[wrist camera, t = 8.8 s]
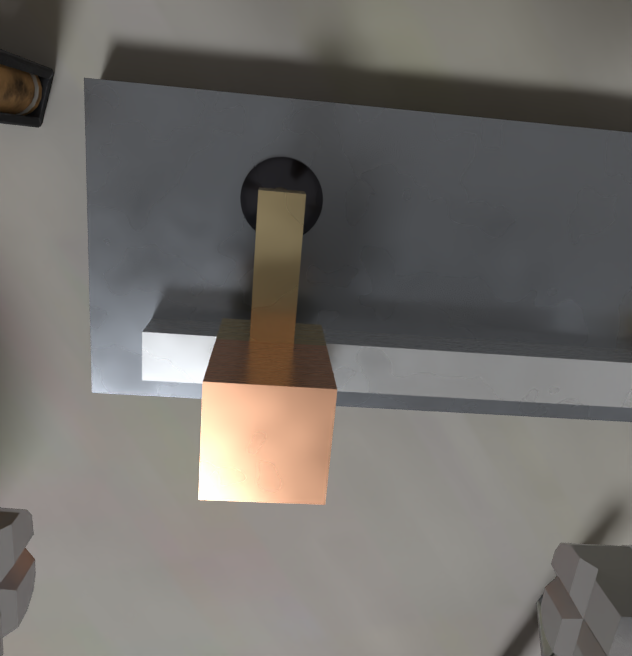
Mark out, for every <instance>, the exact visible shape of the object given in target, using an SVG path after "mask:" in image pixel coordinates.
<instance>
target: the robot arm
mask: <svg viewBox="0 0 632 656" xmlns="http://www.w3.org/2000/svg"><path fill="white" fill-rule="evenodd" d="M33 535H34V531H33V520H32V515H31V514H30V512H29V511H28V510H25V509H13V508H1V507H0V656H2V655H3V637H4V636H6V635H7V634H9V633H10V632H12V631H13V630H15V629H16V628H18V627H19V625H20V623H21V621H22V619H23V617H24V615H25V614H26V612H27V609H28V606H29V603H30V600H31V597H32V593H33V590H34V582H35V574H36V572H35V559H34V558H33V556H32V555H31V554H30V553H29V552H28V550H27V549H26V548H25V547H26V545H27V544H28V542H29V541H30V539H31V538H32V536H33ZM551 565H552V567H553V569H554V571H555V573H556V574H557V577H556V578H555V579H554V580H553V581H551V582H550V583H549V584H548V585H547V586H546V587H545V589H544V593H543V598H542V603H541V616H542V626H543V629H544V633H545V636H546V639H547V641H548V643H549V645H550V647H551V649H552V651H553V653H554V654H556V655H557V656H632V545H622V546H612V545H593V544H574V543H560V544H559V546H558V547H557V549H556V550H555V552H554V556H553V559H552V563H551Z"/></svg>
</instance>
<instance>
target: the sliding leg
mask: <svg viewBox="0 0 632 656" xmlns="http://www.w3.org/2000/svg"><path fill="white" fill-rule="evenodd" d="M305 201H306V193H305V192H304V191H295V190H287V189H285V188H282V187H278V188H275V189H272V188H260V187H259V190H258V205H257V222H256V240H255V257H254V274H253V291H252V308H251V320H244V319H229V318H222V322H221V325H220V328H219V331H218V334H217V337H216V341H215V344H214V347H213V350H212V353H211V357H210V360H209V363H208V366H207V369H206V372H205V376H204V379H203V384H202V413H201V442H200V471H199V500H218V501H243V502H268V503H294V504H319V505H325V501H326V491H327V482H328V473H329V463H330V454H331V445H332V435H333V426H334V417H335V407H336V398H337V386H336V382H335V378H334V374H333V370H332V366H331V362H330V358H329V354H328V350H327V346H326V342H325V338H324V334H323V330H322V326H321V325H319V324H304V323H296V311H297V299H298V286H299V274H300V262H301V250H302V237H303V225H304V213H305Z"/></svg>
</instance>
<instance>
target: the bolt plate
mask: <svg viewBox="0 0 632 656" xmlns="http://www.w3.org/2000/svg"><path fill="white" fill-rule="evenodd" d="M84 95H85V135H86V175H87V214H88V254H89V294H90V333H91V373H92V393H107V394H126V395H144V396H163V397H181V398H200V399H202V384H203V379H204V376H205V372H206V369H207V366H208V363H209V360H210V357H211V353H212V350H213V347H214V344H215V341H216V337H217V334H218V331H219V328H220V325H221V322H222V318H229V319H244V320H251V308H252V291H253V274H254V257H255V240H256V222H257V205H258V190H259V187H260V188H272V189H275V188H278V187H282V188H285V189H287V190H295V191H304V192H305V193H306V201H305V213H304V225H303V237H302V250H301V262H300V274H299V286H298V299H297V311H296V323H304V324H319V325H321V326H322V330H323V334H324V338H325V342H326V346H327V350H328V354H329V358H330V362H331V366H332V370H333V374H334V378H335V382H336V386H337V398H336V406H347V407H366V408H384V409H402V410H421V411H439V412H458V413H476V414H495V415H513V416H531V417H550V418H568V419H587V420H605V421H624V422H632V132H622V131H612V130H602V129H592V128H582V127H572V126H562V125H552V124H542V123H532V122H522V121H512V120H502V119H492V118H482V117H472V116H462V115H452V114H442V113H432V112H422V111H412V110H402V109H392V108H382V107H372V106H362V105H352V104H342V103H332V102H322V101H312V100H302V99H292V98H282V97H272V96H262V95H252V94H242V93H232V92H222V91H212V90H202V89H192V88H182V87H172V86H162V85H152V84H142V83H132V82H122V81H112V80H101V79H91V78H84Z"/></svg>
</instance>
